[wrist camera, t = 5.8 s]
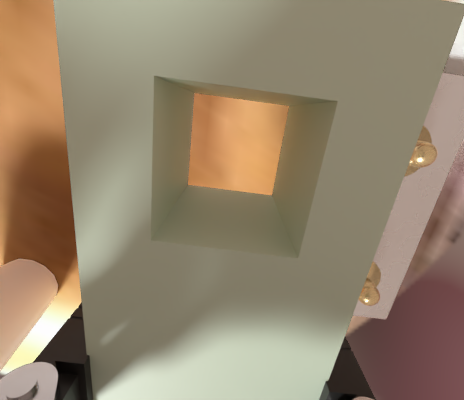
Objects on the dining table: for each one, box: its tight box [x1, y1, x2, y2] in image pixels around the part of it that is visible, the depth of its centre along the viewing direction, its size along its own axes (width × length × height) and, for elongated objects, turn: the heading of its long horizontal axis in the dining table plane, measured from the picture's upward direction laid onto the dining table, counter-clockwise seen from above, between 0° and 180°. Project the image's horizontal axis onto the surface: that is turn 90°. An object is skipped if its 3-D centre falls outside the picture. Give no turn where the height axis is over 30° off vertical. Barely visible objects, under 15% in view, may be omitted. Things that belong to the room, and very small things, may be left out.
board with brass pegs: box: [353, 73, 464, 319], centre depth 22 cm, size 24×12×6 cm, turn 173°
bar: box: [53, 0, 464, 400], centre depth 8 cm, size 18×6×4 cm, turn 173°
